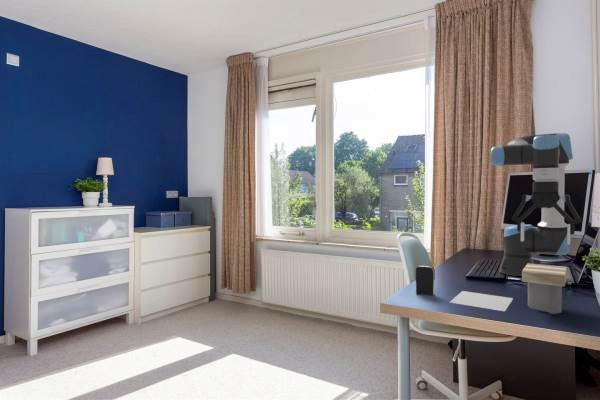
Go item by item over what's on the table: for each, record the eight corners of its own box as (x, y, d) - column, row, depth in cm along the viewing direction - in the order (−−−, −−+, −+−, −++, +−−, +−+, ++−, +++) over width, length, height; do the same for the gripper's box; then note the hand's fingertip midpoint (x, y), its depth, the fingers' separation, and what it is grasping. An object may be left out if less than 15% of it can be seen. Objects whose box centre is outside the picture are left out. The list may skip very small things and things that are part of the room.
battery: (435, 294, 153) (435, 265, 152) (433, 297, 150) (433, 267, 149) (417, 292, 157) (417, 264, 156) (415, 294, 153) (415, 265, 153)
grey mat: (462, 292, 155) (462, 290, 155) (513, 299, 145) (513, 298, 145) (449, 303, 141) (449, 302, 141) (504, 313, 130) (504, 311, 130)
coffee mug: (564, 315, 127) (564, 284, 127) (529, 311, 132) (529, 282, 131) (557, 303, 140) (557, 276, 139) (525, 300, 144) (525, 273, 143)
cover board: (527, 272, 145) (527, 263, 145) (566, 276, 138) (566, 266, 138) (521, 281, 132) (521, 271, 132) (564, 286, 125) (564, 275, 125)
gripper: (502, 181, 138) (502, 241, 139) (590, 180, 123) (589, 247, 124) (506, 181, 144) (506, 238, 145) (590, 180, 129) (589, 243, 130)
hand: (544, 242), depth 135 cm, fingers open, 13 cm apart
